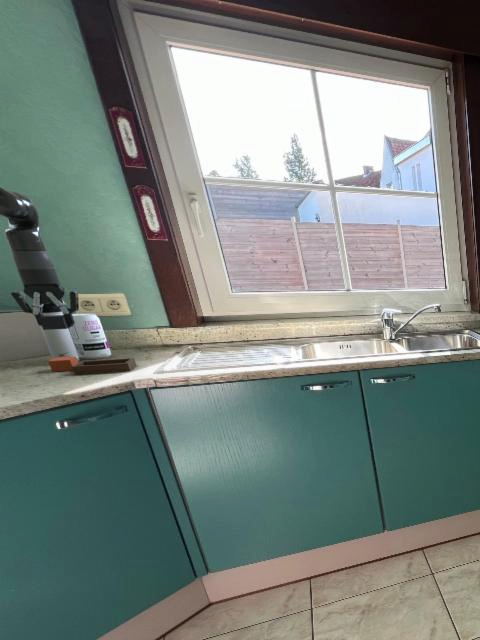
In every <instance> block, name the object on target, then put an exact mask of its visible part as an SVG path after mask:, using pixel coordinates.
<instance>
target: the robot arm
mask: <svg viewBox="0 0 480 640" xmlns="http://www.w3.org/2000/svg"><path fill="white" fill-rule="evenodd" d="M0 217H3V218H6V219H7V224H8V227H7V228H6V229H5V230H4V236H5V239H6V242H7V244H8V247H9V249H10V252H11V256H12V260H13V263H14V265H15V268H16V271H17V273H18V275H19V278H20V280H21V283H22V285H23V290H20V291H13V292H11V293H10V295H11V296H12V298H13V299H14V301H15V302H16V303H17V304H18V306H19V307H20V308H21V310H22V311H23V312H24V313H25V314H26V313H27V314H32V315H33V316H34V318H35V320H36V322H37V325H38V326H39V327H40V326H42V325H41V323H40V320H39V318H40V317H43V316H44V314H42V307H43V304H46V303H51V304H56V305H57V306H58V307H59V308H60V309H61V311H62V314H63V315H64V317H65V320H66V322H67V325H68V327H72V326H73V324H75V321H74V318H73V316H72V314H74V312H78V311H79V310H80V305H79V304H80V303H79V292H78V291H76V290H67V289H65V288H64V287H63V286H62V285H61V282H60V279H59V277H58V274H57V271H56V269H55V265H54V263H53V260H52V258H51V256H50V255H49V253H48V251H47V247H46V245H45V242H44V239H43V237H42V235H41V223H40V216H39V212H38V210H37V207H36V205H35V203H34V202H33V201H32V200H31V199H30V198H29V197H28V196H27V195H25V194H23V193H21V192H17V191H11V190H7V189H5V188H3V187H1V186H0ZM64 295H66V297H67V298H68V299H69V304H70V305H68V304H67V303H66V302H65V301H64V299H63V297H64ZM26 297H29V298H31V299H32V305H33V306H32V307H31V305H30V304H29V303H28V301H27V300H26ZM69 306H70V307H69Z"/></svg>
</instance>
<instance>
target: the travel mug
mask: <svg viewBox="0 0 480 640" xmlns="http://www.w3.org/2000/svg"><path fill="white" fill-rule="evenodd" d="M31 306H32V307H33V304H31ZM42 314H44V316H46V315H63V314H64V313H63V311H62V310H61V309H60V308H59V307H58V306H57V305H56V304H51V303H45V304H43V307H42ZM39 328H40V330H41V333H42V335H43V338H44V341H45V343H46V346H47V348H48V351H49V354H50V356H51V359H53V358H57V357H75V356H76V358H77V361H78V362H81V359H80V356H79V354H78V351H77V348H76V345H75V343H74V340H73V337H72V334H71V332H70V329H69V328H67V329H51V330H43V328H42V326H39Z"/></svg>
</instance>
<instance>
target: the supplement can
mask: <svg viewBox="0 0 480 640" xmlns="http://www.w3.org/2000/svg"><path fill="white" fill-rule="evenodd" d="M72 316H73V318H74V321H75V324H73V327H70V328H68V329H69V332H70V334H71V337H72V340H73V343H74V345H75V348H76V351H77V353H78V357H79V358H82V360H102V359H107V358H109V357H111V355H112V352H111V349H110V346H109V343H108V339H107V337H106V334H105V331H104V327H103V326H102V322H101V319H100V318H99V317H98V316H97V314H96V313H91V312H90V313H86V312H85V313H72Z"/></svg>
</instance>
